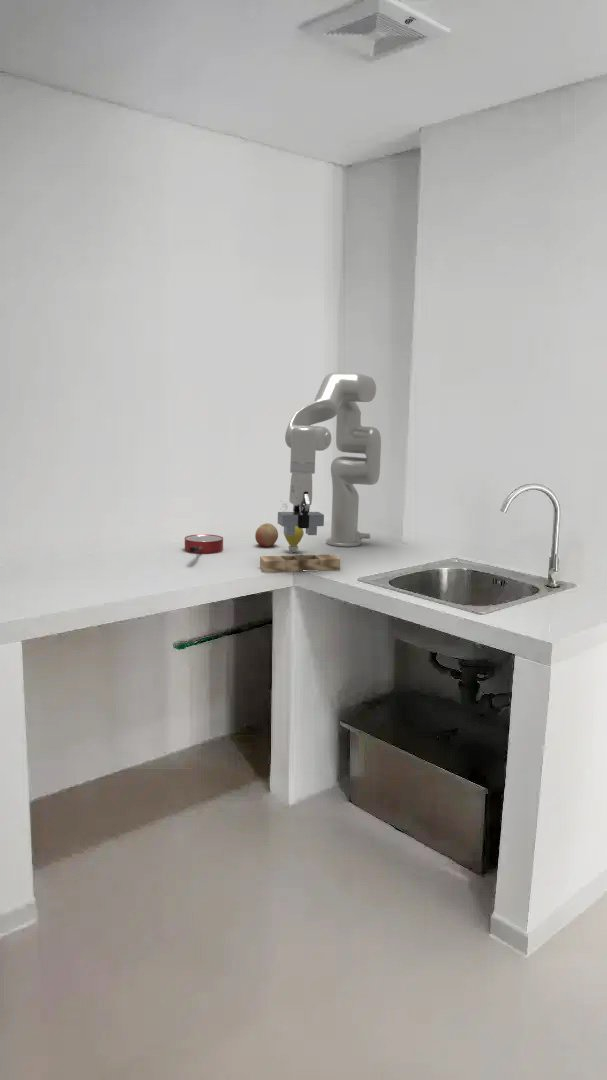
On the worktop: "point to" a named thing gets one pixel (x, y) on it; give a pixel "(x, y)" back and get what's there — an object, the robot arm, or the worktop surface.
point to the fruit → (266, 535)
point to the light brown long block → (299, 563)
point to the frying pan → (203, 544)
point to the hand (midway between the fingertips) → (300, 525)
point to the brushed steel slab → (292, 519)
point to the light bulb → (294, 539)
